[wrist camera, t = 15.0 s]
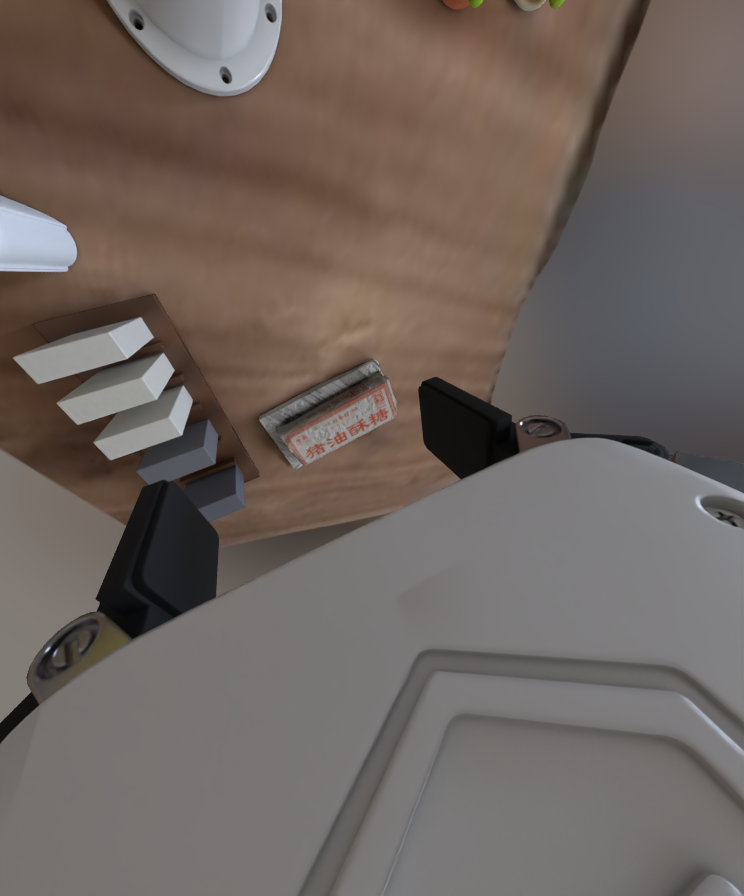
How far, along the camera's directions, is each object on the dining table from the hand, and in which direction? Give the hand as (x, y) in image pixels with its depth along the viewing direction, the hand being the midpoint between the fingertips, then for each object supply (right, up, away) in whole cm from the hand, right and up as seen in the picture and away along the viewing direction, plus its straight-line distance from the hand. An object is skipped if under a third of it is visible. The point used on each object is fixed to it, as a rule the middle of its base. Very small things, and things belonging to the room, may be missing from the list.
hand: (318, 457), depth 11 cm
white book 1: (-23, +11, +17) cm, 30 cm away
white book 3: (-22, +6, +21) cm, 31 cm away
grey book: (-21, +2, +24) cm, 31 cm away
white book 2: (-22, +8, +19) cm, 30 cm away
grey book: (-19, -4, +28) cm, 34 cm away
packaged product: (-4, +6, +31) cm, 32 cm away
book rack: (-22, +4, +23) cm, 32 cm away
